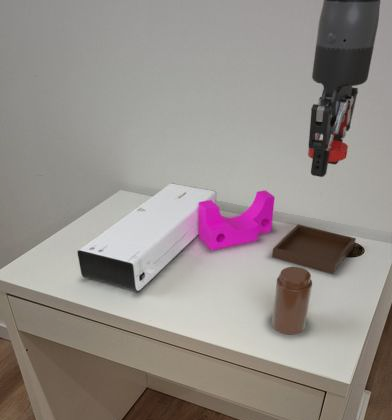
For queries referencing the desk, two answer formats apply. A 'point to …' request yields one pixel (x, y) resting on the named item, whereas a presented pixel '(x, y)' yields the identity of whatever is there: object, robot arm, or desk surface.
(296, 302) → the jar
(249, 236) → the toy block
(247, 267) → the desk surface
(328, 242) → the tray
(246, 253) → the desk surface
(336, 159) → the lid
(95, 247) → the laminator
